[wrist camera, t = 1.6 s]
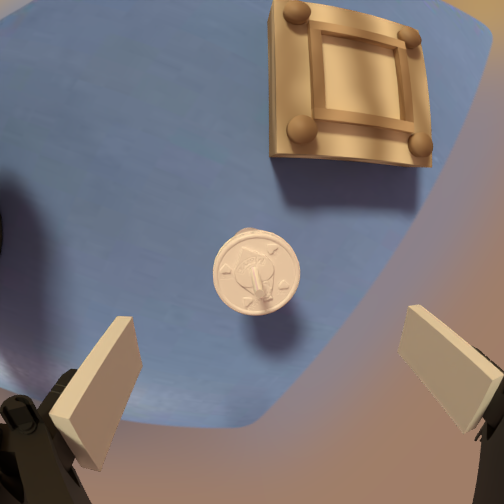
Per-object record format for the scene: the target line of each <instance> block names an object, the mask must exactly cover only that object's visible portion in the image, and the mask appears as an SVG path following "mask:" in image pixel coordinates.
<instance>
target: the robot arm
mask: <svg viewBox="0 0 504 504" xmlns="http://www.w3.org/2000/svg"><path fill="white" fill-rule="evenodd" d="M1 247H2V223H1V215H0V253H1ZM398 354H399V355H400V356H401V357H402V358H403V360H404V361H405V362H406V363H407V364H408V365H409V367H410V368H411V369H412V370H413V372H414V373H415V374H416V375H417V376H418V378H419V379H420V380H421V381H422V382H423V384H424V385H425V386H426V387H427V389H428V390H429V391H430V392H431V393H432V395H433V396H434V397H435V398H436V400H437V401H438V402H439V403H440V405H441V406H442V407H443V408H444V410H445V411H446V412H447V414H448V415H449V416H450V417H451V419H452V420H453V421H454V422H455V424H456V425H457V426H458V428H459V429H460V430H461V432H462V433H463V434H464V433H466V432H468V431H470V430H472V429H474V428H476V426H477V425H478V423H479V421H480V420H481V418H482V417H483V418H484V419H485V423H484V425H483V426H482V428H481V429H480V431H479V433H478V434H477V436H476V437H475V441H477V439H478V438H479V436H480V435H482V438H481V439H480V442H481V453H480V462H479V469H478V476H477V483H476V488H475V493H474V498H473V503H472V504H504V371H503V370H502V369H501V368H500V367H498V366H497V365H496V364H495V363H494V362H493V361H490V359H489V358H488V357H487V356H485V355H484V354H483V353H482V352H481V351H480V350H479V349H477V348H475V347H473V346H471V345H469V344H468V343H467V342H466V341H465V340H463V339H462V338H461V337H460V336H459V335H457V334H456V333H455V332H454V331H452V330H451V329H450V328H449V327H447V326H446V325H445V324H444V323H443V322H441V321H440V320H439V319H437V318H436V317H435V316H434V315H432V314H431V313H430V312H429V311H427V310H426V309H425V308H423V307H422V306H421V305H413V306H408V309H407V314H406V319H405V323H404V328H403V332H402V337H401V340H400V344H399V348H398ZM141 369H142V361H141V357H140V352H139V348H138V343H137V338H136V333H135V328H134V323H133V317H125V316H117V317H116V319H115V320H114V321H113V323H112V324H111V325H110V327H109V328H108V329H107V331H106V332H105V333H104V335H103V336H102V337H101V339H100V340H99V341H98V343H97V344H96V345H95V347H94V348H93V349H92V351H91V352H90V354H89V355H88V356H87V358H86V359H85V361H84V362H83V363H82V365H81V366H80V368H79V369H78V370H77V369H70V370H69V371H67V372H66V373H64V374H63V375H62V376H61V377H60V378H59V380H58V381H57V382H56V385H54V387H53V388H52V389H51V392H49V393H48V395H47V396H46V398H45V399H44V401H43V402H42V404H41V405H40V406H39V408H38V409H36V407H35V405H34V404H33V401H32V399H31V398H29V397H28V396H25V395H14V396H12V397H9V398H8V399H7V400H5V401H4V402H3V404H2V405H1V407H0V414H1V416H2V417H3V419H4V420H5V422H6V424H2V423H0V504H92V503H91V502H90V500H89V498H88V496H87V494H86V492H85V490H84V488H83V486H82V484H81V482H80V480H79V477H78V476H77V473H76V471H75V469H74V468H73V466H72V463H73V461H74V459H75V458H76V460H77V461H78V463H79V464H80V465H81V467H84V468H88V469H91V470H95V471H99V472H101V469H102V466H103V464H104V461H105V458H106V455H107V453H108V450H109V447H110V445H111V442H112V439H113V437H114V434H115V431H116V429H117V427H118V424H119V422H120V419H121V416H122V414H123V412H124V409H125V407H126V404H127V402H128V399H129V397H130V394H131V392H132V390H133V387H134V385H135V383H136V380H137V378H138V376H139V373H140V371H141Z"/></svg>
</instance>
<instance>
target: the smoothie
mask: <svg viewBox="0 0 504 504" xmlns="http://www.w3.org/2000/svg"><path fill="white" fill-rule="evenodd" d="M299 279H300V267H299V262H298V259H297V257H296V255H295V253H294V251H293V249H292V248H291V246H290V245H289V244H288V243H287V242H286V241H285V240H284V239H283V238H281V237H279V236H277V235H275V234H274V233H271V232H267V231H262V230H258V229H255V228H244V229H242V230H240V231H238V232H237V233H236V234H235V236H234V237H233V238H231V239H230V240H228V241H227V242H226V243H225V244H224V245H223V246H222V248H221V249H220V250H219V252H218V254H217V256H216V258H215V262H214V267H213V280H214V285H215V289H216V291H217V293H218V295H219V297H220V298H221V299H222V301H223V302H224V303H225V304H226V305H227V306H229V307H230V308H231V309H233V310H235V311H237V312H239V313H242V314H246V315H265V314H269V313H272V312H274V311H276V310H278V309H280V308H281V307H283V306H284V305H285V304H286V303H287V302H288V301H289V300H290V299H291V298H292V296H293V295H294V293H295V291H296V289H297V287H298V284H299Z"/></svg>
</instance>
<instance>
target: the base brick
mask: <svg viewBox="0 0 504 504" xmlns="http://www.w3.org/2000/svg"><path fill="white" fill-rule="evenodd" d="M267 23H268V71H269V157H288V158H313V159H330V160H344V161H356V162H367V163H377V164H386V165H394V166H402V167H432V151H433V143H432V137H431V118H430V105H429V94H428V85H427V77H426V70H425V64H424V58H423V52H422V46H421V37H420V35H419V32H418V30H416V29H413V28H412V27H409V26H404V25H402V24H399V23H396V22H392V21H389V20H386V19H383V18H379V17H376V16H372V15H368V14H364V13H360V12H356V11H352V10H348V9H343V8H338V7H333V6H327V5H322V4H315V3H308V2H302V1H298V0H293V1H292V0H273V2H272V6H271V10H270V14H269V18H268V21H267Z"/></svg>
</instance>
